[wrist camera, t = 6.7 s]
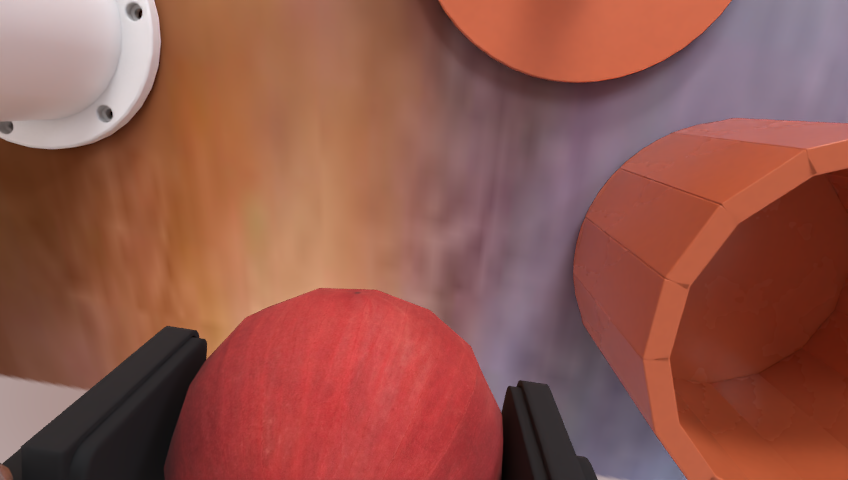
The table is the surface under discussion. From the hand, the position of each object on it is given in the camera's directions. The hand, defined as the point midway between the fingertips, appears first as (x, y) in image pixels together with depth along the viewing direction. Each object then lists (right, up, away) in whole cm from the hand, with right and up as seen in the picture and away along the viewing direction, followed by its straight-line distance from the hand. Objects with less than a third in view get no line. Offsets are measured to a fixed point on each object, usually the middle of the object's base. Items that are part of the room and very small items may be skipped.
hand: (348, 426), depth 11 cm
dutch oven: (+18, +2, +21) cm, 27 cm away
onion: (0, +1, +3) cm, 3 cm away
